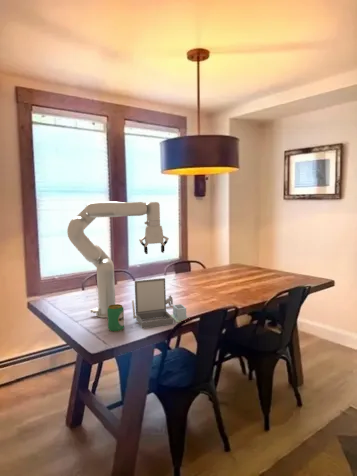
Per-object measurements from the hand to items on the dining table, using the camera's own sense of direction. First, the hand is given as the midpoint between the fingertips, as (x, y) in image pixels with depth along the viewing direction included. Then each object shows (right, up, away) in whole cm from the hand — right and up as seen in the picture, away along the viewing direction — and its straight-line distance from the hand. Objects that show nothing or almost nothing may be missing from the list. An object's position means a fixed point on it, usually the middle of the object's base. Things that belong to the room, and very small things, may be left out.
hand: (154, 253), depth 209 cm
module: (+15, -35, -11) cm, 39 cm away
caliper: (+3, -34, +8) cm, 35 cm away
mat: (+15, -35, -11) cm, 40 cm away
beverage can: (-18, -38, -26) cm, 49 cm away
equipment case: (0, -36, -16) cm, 40 cm away
